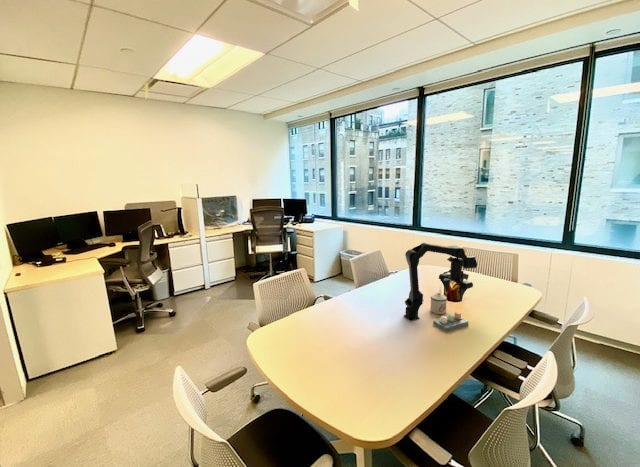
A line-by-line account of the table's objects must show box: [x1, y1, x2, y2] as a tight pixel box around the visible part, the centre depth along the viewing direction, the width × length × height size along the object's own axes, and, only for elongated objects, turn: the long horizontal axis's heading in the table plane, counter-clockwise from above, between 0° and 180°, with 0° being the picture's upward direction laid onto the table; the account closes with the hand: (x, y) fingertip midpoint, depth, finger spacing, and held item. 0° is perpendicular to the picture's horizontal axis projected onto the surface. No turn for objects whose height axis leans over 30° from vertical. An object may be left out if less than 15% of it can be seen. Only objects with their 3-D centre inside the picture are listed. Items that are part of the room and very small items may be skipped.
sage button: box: [447, 313, 455, 323], centre depth 160 cm, size 3×3×4 cm
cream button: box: [440, 315, 447, 325], centre depth 158 cm, size 3×3×4 cm
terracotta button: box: [453, 311, 462, 321], centre depth 162 cm, size 3×3×4 cm
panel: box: [432, 315, 469, 333], centre depth 160 cm, size 16×9×2 cm, turn 113°
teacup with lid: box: [430, 291, 448, 315], centre depth 177 cm, size 12×9×12 cm
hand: (454, 294), depth 168 cm, fingers open, 9 cm apart
